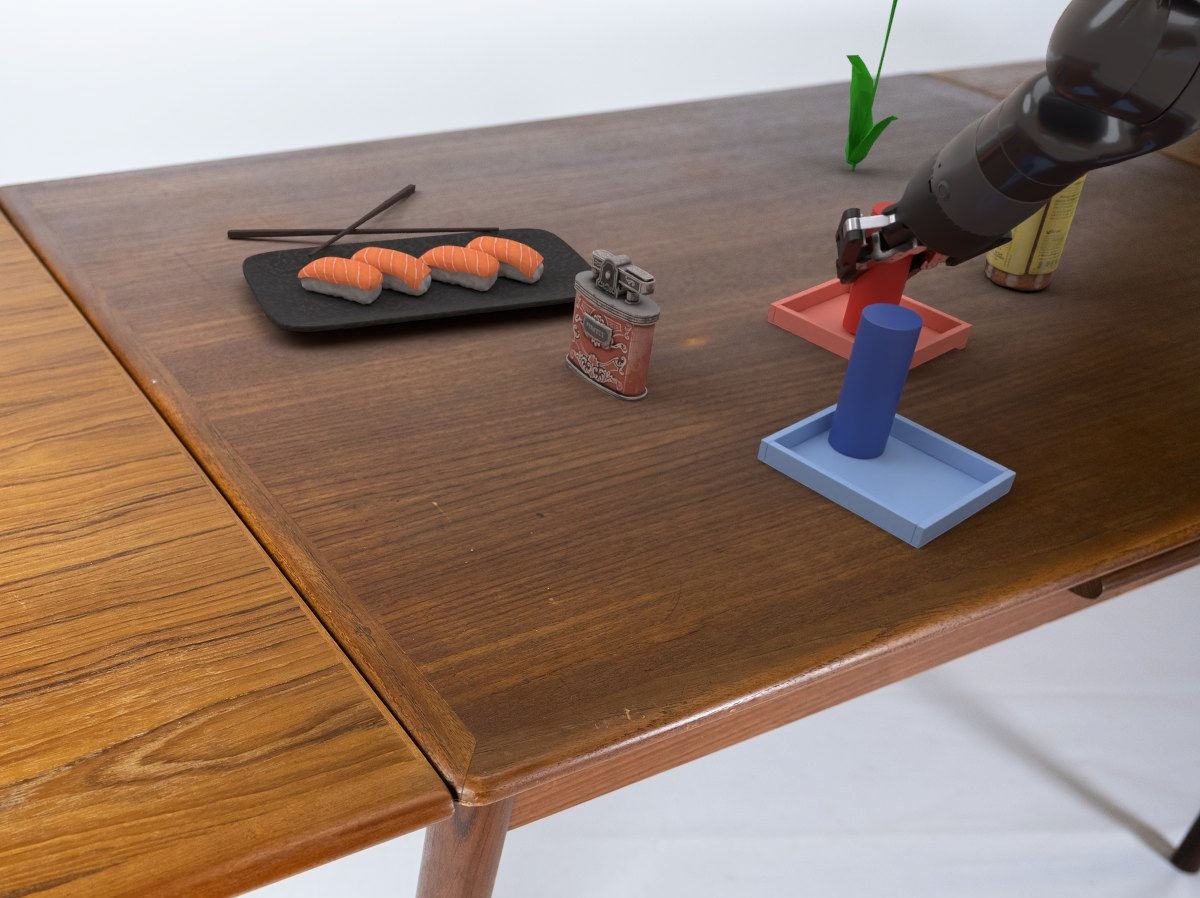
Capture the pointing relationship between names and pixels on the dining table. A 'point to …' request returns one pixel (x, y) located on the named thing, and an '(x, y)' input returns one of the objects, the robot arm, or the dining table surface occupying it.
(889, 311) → the blue peg
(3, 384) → the dining table surface
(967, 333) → the red tray
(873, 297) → the red peg
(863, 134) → the flower
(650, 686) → the dining table surface
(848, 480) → the blue tray
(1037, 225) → the sauce bottle
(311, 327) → the sushi plate
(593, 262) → the lighter
